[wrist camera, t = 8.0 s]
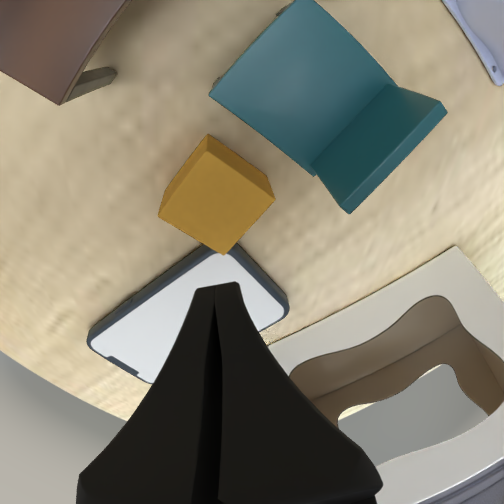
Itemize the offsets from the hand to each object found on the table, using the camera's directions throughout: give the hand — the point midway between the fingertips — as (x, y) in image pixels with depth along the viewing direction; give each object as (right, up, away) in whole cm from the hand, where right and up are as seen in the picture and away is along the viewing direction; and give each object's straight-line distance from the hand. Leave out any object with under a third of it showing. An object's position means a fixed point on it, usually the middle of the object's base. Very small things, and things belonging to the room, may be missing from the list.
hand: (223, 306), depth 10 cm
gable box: (+13, -7, +20) cm, 24 cm away
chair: (+3, +11, +5) cm, 13 cm away
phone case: (-5, -3, +15) cm, 16 cm away
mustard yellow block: (-1, +6, +9) cm, 10 cm away
